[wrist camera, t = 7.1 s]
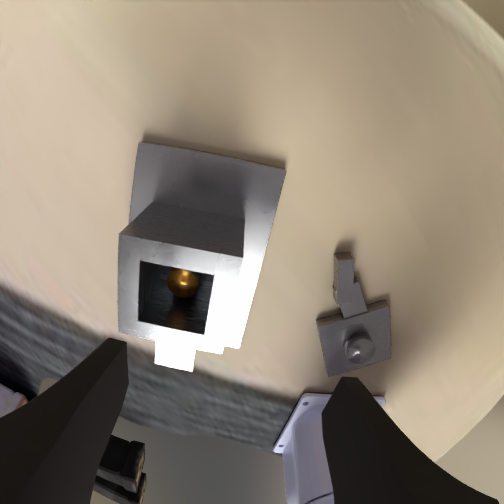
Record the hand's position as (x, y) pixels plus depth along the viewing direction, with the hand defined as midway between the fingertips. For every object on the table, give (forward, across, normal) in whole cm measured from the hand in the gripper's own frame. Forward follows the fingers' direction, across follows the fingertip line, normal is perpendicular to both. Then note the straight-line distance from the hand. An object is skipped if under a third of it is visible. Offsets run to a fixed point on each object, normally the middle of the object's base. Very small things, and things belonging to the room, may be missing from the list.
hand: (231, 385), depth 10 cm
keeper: (+10, +3, 0) cm, 10 cm away
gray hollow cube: (+9, +3, 0) cm, 10 cm away
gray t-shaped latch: (+10, -8, +2) cm, 13 cm away
